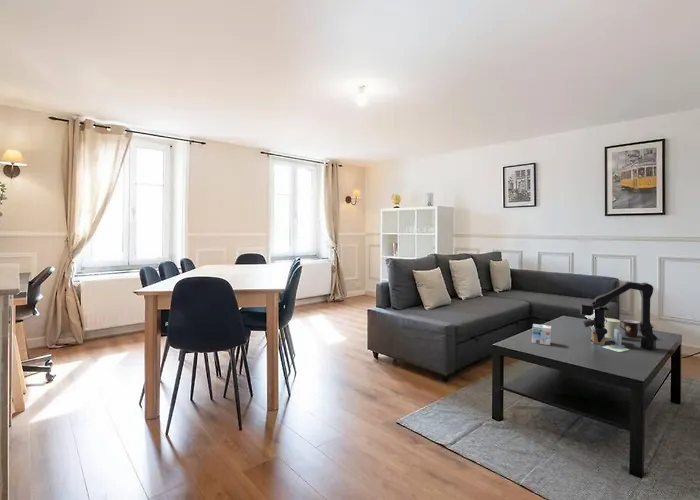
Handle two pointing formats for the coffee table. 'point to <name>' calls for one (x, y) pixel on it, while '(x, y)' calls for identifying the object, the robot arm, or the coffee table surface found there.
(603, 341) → the letter cube
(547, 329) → the light bulb box
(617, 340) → the screen
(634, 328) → the coffee mug
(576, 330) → the coffee table surface
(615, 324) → the can
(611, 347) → the mat
